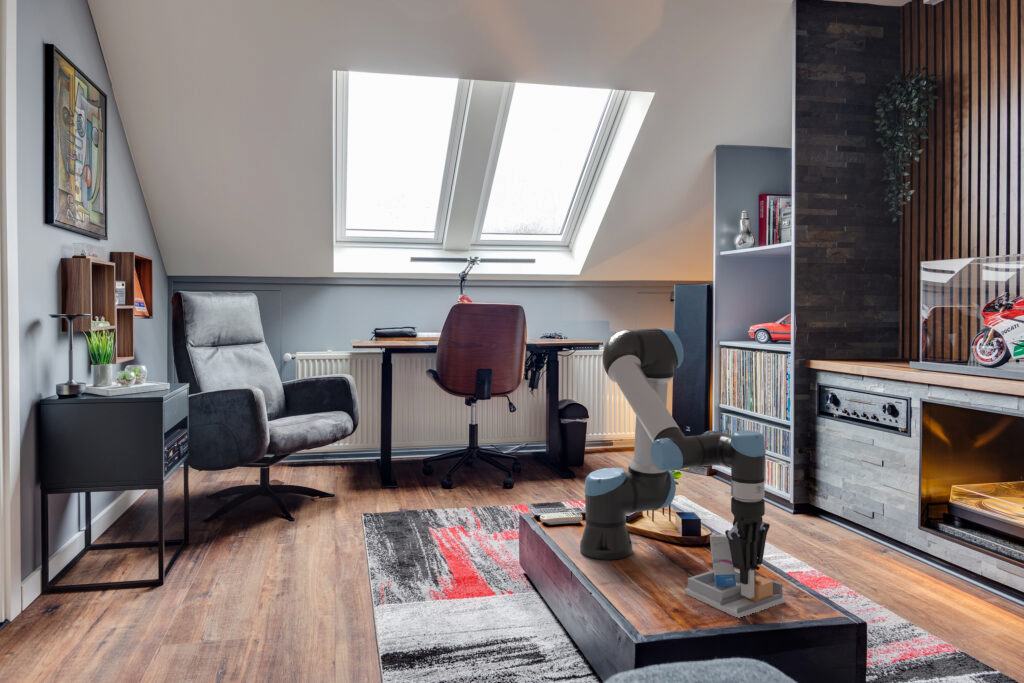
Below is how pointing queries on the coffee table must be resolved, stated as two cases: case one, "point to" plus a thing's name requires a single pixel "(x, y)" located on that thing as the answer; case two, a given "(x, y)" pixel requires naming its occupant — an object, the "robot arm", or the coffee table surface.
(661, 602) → the coffee table surface
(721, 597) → the housing
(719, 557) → the ink box
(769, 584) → the brown block
